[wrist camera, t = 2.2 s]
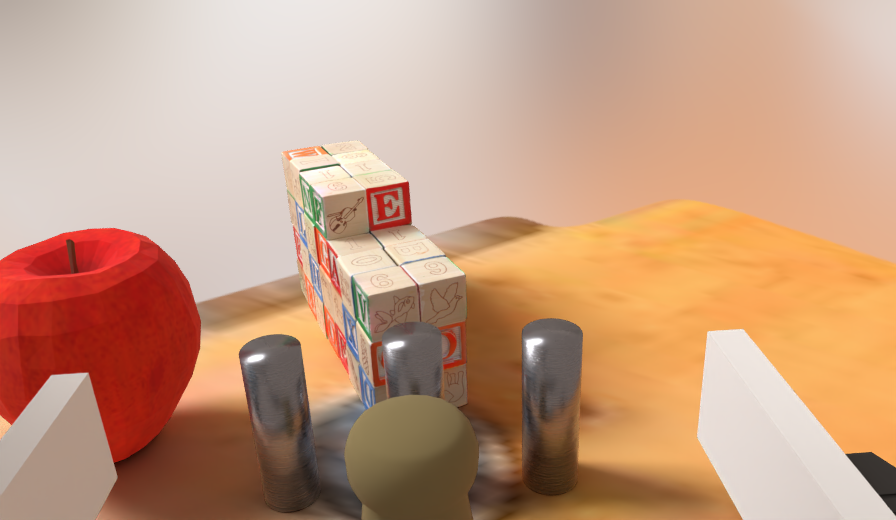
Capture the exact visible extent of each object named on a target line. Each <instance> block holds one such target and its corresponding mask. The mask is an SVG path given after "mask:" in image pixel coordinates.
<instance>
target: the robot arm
mask: <svg viewBox="0 0 896 520" xmlns="http://www.w3.org/2000/svg"><path fill="white" fill-rule="evenodd" d="M697 438H698V440H699V441H700V443H701V445H702V447H703V449H704V450H705V452H706V454H707V456H708V458H709V459H710V461H711V463H712V465H713V467H714V468H715V470H716V472H717V474H718V476H719V477H720V479H721V481H722V483H723V485H724V486H725V488H726V490H727V492H728V494H729V495H730V497H731V499H732V501H733V503H734V504H735V506H736V508H737V510H738V512H739V513H740V515H741V517H742V519H743V520H896V468H895V467H894V466H892V465H891V464H889V463H888V462H886V461H884V460H883V459H881V458H880V457H878V456H877V455H875V454H874V453H872V452H866V453H852V454H845V453H844V452H843V451H842V450H841V448H840V447H839V446H838V445H837V444H836V442H835V441H834V440H833V439H832V437H831V436H830V435H829V434H828V433H827V431H826V430H825V429H824V428H823V426H822V425H821V424H820V423H819V421H818V420H817V419H816V418H815V417H814V415H813V414H812V413H811V412H810V410H809V409H808V408H807V407H806V406H805V404H804V403H803V402H802V401H801V399H800V398H799V397H798V396H797V394H796V393H795V392H794V391H793V390H792V388H791V387H790V386H789V385H788V383H787V382H786V381H785V380H784V379H783V377H782V376H781V375H780V374H779V372H778V371H777V370H776V369H775V368H774V366H773V365H772V364H771V363H770V361H769V360H768V359H767V358H766V356H765V355H764V354H763V353H762V352H761V350H760V349H759V348H758V347H757V345H756V344H755V343H754V342H753V341H752V339H751V338H750V337H749V336H748V334H747V333H746V332H745V331H744V330H743V329H737V330H722V331H708V333H707V343H706V353H705V363H704V373H703V383H702V393H701V404H700V414H699V424H698V434H697ZM117 478H118V477H117V473H116V470H115V466H114V463H113V459H112V455H111V452H110V448H109V445H108V441H107V438H106V434H105V430H104V427H103V423H102V420H101V416H100V413H99V409H98V406H97V402H96V398H95V395H94V391H93V388H92V384H91V381H90V377H89V373H76V374H61V375H51V376H50V378H49V379H48V380H47V381H46V383H45V384H44V385H43V386H42V388H41V389H40V390H39V392H38V393H37V394H36V395H35V397H34V398H33V399H32V400H31V402H30V403H29V404H28V405H27V407H26V408H25V409H24V411H23V412H22V413H21V414H20V416H19V417H18V418H17V419H16V421H15V422H14V423H13V425H12V426H11V427H10V428H9V430H8V431H7V432H6V433H5V435H4V436H3V437H2V438H1V440H0V520H96V518H97V516H98V514H99V512H100V510H101V508H102V506H103V505H104V503H105V501H106V499H107V497H108V495H109V493H110V491H111V489H112V487H113V485H114V484H115V482H116V480H117Z"/></svg>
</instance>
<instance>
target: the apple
mask: <svg viewBox="0 0 896 520" xmlns="http://www.w3.org/2000/svg"><path fill="white" fill-rule="evenodd" d="M200 333H201V320H200V317H199V314H198V310H197V307H196V304H195V301H194V297H193V295H192V291H191V288H190V284H189V282H188V280H187V279H186V277H185V276H184V274H183V273H182V271H181V270H180V268H179V267H178V265H177V264H176V262H175V261H174V260H173V259H172V258H171V257H170V256H168V254H167V253H166V252H165V251H163V250H162V249H161V248H160V247H159V246H158V245H157V244H155V243H154V242H153V241H151V240H150V239H149V238H147V237H146V236H143V235H139V234H136V233H133V232H129V231H125V230H120V229H116V228H105V229H104V228H102V229H87V230H80V231H74V232H68V233H63V234H60V235H58V236H55V237H52V238H50V239H47V240H45V241H42V242H39V243H36V244H33V245H31V246H28V247H25V248H22V249H19V250H17V251H15V252H13V253H12V254H10V255H8V256H7V257H5V258H3V259H2V260H0V415H1V416H2V417H3V418H4V419H5V420H6V421H8V422H9V423H10V424H11V425H13V423H14V422H15V421H16V419H17V418H18V417H19V416H20V414H21V413H22V412H23V411H24V409H25V408H26V407H27V405H28V404H29V403H30V402H31V400H32V399H33V398H34V397H35V395H36V394H37V393H38V392H39V390H40V389H41V388H42V386H43V385H44V384H45V383H46V381H47V380H48V379H49V378H50V376H51V375H61V374H76V373H89V377H90V381H91V384H92V388H93V391H94V395H95V398H96V402H97V406H98V409H99V413H100V416H101V420H102V423H103V427H104V430H105V434H106V438H107V441H108V445H109V448H110V452H111V455H112V459H113V463H115V462H118V461H121V460H124V459H126V458H128V457H129V456H131V455H132V454H134V453H136V452H137V451H139V450H141V449H142V448H144V447H145V446H146V445H147V444H148V443H149V442H150V441H151V440H152V439H153V438H155V437H156V436H157V435H158V434H159V433H160V431H161V430H162V429H163V427H164V426H165V425H166V423H167V422H168V420H169V419H170V418H171V416H172V414H173V412H174V410H175V408H176V406H177V404H178V402H179V400H180V398H181V396H182V394H183V393H184V391H185V389H186V387H187V385H188V383H189V381H190V379H191V377H192V375H193V371H194V368H195V364H196V360H197V357H198V353H199V350H200Z"/></svg>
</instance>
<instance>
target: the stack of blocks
mask: <svg viewBox="0 0 896 520" xmlns="http://www.w3.org/2000/svg"><path fill="white" fill-rule="evenodd" d="M281 155H282V160H283V167H284V173H285V179H286V185H287V194H288V202H289V209H290V216H291V222H292V224H293V229H294V237H295V243H296V249H297V256H298V259H297V264H298V270H299V276H300V282H301V288H302V291H303V293H304V295H305V297H306V299H307V301H308V304H309V307H310V309H311V311H312V312H313V314H314V316H315V318H316V320H317V321H318V324H319V326H320V328H321V330H322V332H323V333H324V335H325V337H326V338H327V339H329V341H330V343H331V345H332V346H333V349H334V350H335V352H336V354H337V356H338V357H339V358H340V359H341V361H342V363H343V365H344V367H345V369H346V370H347V373H348V374H349V378H350V381H351V383H352V385H353V387H354V389H355V390H356V392H357V394H358V396H359V398H360V400H361V401H362V402H363V403H364V406H365V408H366V410H367V409H369V408H370V407H372V406H373V405H375V404H377V403H379V402H381V401H384V400H387V392H386V380H385V369H384V358H383V346H382V335H383V334H384V332H385V331H386V330H387V329H389V328H390V327H392V326H394V325H397V324H400V323H405V322H425V323H429V324H432V325H434V326H436V327H437V328H438V329H439V330H440V331H441V334H442V353H443V373H444V392H445V401H447V402H449V403H451V404H453V405H455V406H456V407H460V406H463V405H466V404H467V372H466V363H467V350H466V325H465V319H466V318H467V297H466V275H465V273H464V272H463V271H462V270H461V269H459V268H458V267H457V266H456V265H455V264H454V263H453V262H452V261H451V260H449V259H448V258H447V257H446V255H445V254H444V253H443V252H442V251H441V250H440V249H439V248H438V247H437V246H436V245H435V244H433V243H432V242H431V241H430V240H429V239H428V238H427V237H426V236H425V235H424V234H423V233H422V232H421V231H419V230H418V229H417V228H416V227H415V226H412V225H411V224H412V220H411V207H410V193H409V182H408V181H407V180H406V179H405V178H403V177H402V176H401V175H400V174H398V173H397V172H396V171H394V170H392V169H391V168H390V167H389V166H387V165H386V164H385V163H384V162H382V161H381V160H380V159H379V158H378V157H377V156H375V155H374V154H373V153H372V152H370V151H369V150H368V148H367V147H365V146H364V145H363V144H362V143H361V142H359V141H358V140H357V141H348V142H342V143H334V144H328V145H322V147H320V146H316V147H309V148H303V149H297V150H291V151H285V152H282V153H281Z"/></svg>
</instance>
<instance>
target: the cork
mask: <svg viewBox="0 0 896 520" xmlns="http://www.w3.org/2000/svg"><path fill="white" fill-rule="evenodd" d="M344 456H345V463H346V470H347V477H348V481H349V483H350V485H351V487H352V490H353V491H354V493H355V494H356V496H357V497H358V499H359V500H360V501H361V503H362V520H473V517H472V512H471V507H470V502H469V498H468V492H469V490H470V488H471V487H472V485H473V483H474V481H475V477H476V474H477V470H478V459H479V444H478V441H477V438H476V435H475V432H474V430H473V427H472V425H471V423H470V421H469V420H468V419H467V417H466V416H465V415H464V414H463V413H462V412H461V411H460V410H459V409H458V408H457V407H456V406H455V405H453V404H451V403H449V402H447V401H445V400H443V399H441V398H436V397H432V396H427V395H405V396H399V397H393V398H390V399H387V400H384V401H381V402H379V403H377V404H375V405H373V406H372V407H370V408H369V409H367V410H365V411H364V412H363V414H362V415H361V416H360V417H359V418H358V419H357V420H356V422H355V423H354V425H353V427H352V428H351V430H350V433H349V436H348V439H347V442H346V447H345V452H344Z"/></svg>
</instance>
